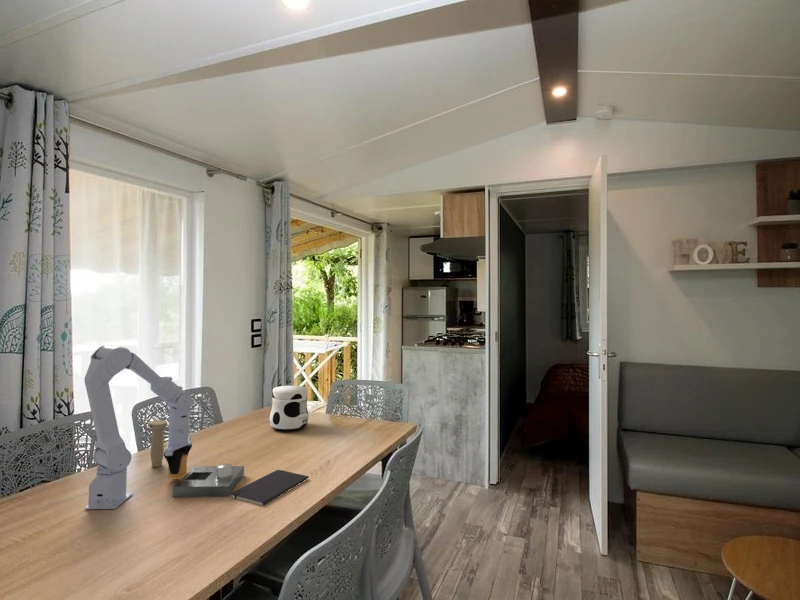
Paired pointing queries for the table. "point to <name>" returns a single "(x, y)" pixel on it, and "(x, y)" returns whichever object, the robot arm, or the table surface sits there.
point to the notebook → (268, 487)
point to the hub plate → (209, 481)
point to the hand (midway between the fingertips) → (177, 470)
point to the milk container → (289, 408)
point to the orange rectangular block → (182, 468)
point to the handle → (157, 441)
